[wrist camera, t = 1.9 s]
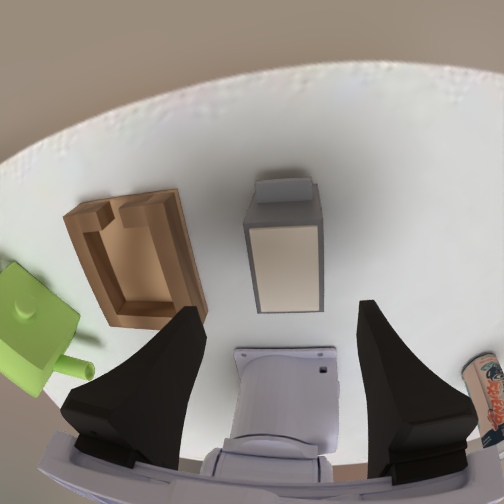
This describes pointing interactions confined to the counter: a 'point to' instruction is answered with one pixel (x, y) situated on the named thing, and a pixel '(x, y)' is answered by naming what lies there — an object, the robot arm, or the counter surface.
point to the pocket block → (137, 258)
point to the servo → (286, 246)
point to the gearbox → (35, 333)
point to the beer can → (487, 399)
